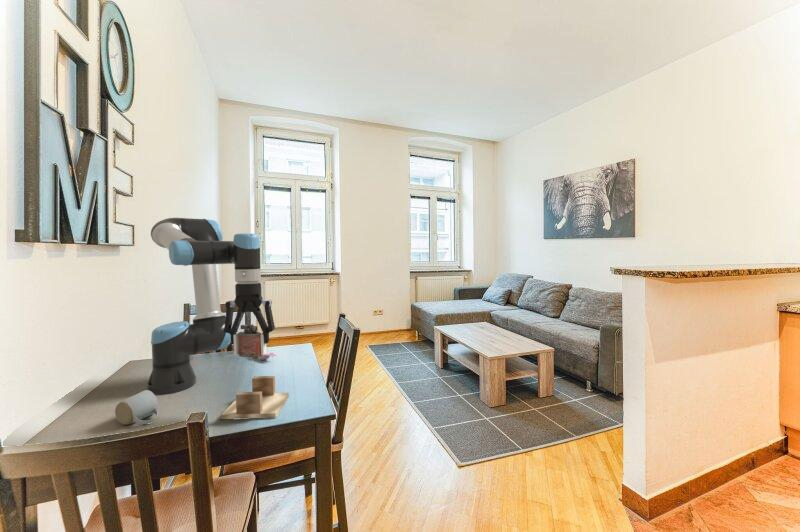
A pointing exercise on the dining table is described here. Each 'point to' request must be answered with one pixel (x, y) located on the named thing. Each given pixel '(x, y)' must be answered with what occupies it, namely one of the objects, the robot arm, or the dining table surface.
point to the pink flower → (266, 356)
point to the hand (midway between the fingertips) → (250, 353)
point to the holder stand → (257, 401)
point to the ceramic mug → (137, 408)
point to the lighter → (250, 342)
